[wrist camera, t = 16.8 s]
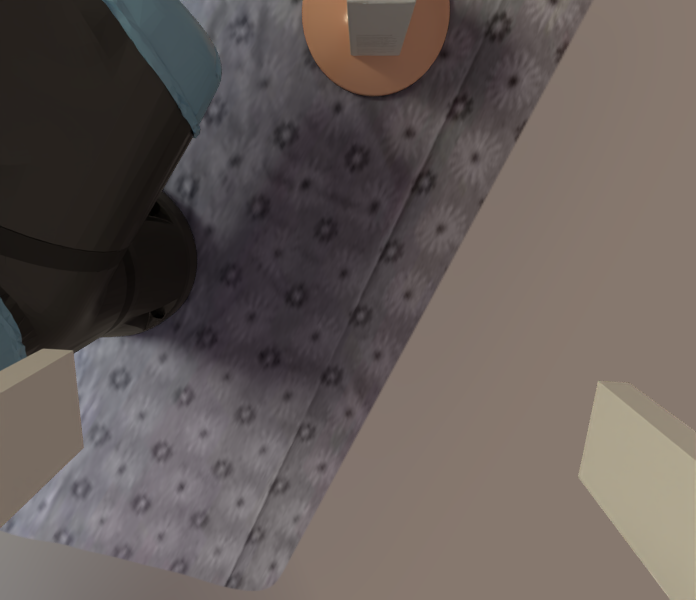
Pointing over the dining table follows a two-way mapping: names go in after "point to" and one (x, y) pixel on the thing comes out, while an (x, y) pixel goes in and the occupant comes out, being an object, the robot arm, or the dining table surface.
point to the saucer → (373, 71)
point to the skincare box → (378, 26)
